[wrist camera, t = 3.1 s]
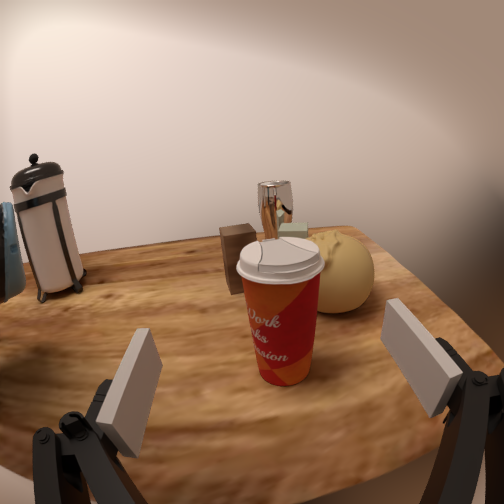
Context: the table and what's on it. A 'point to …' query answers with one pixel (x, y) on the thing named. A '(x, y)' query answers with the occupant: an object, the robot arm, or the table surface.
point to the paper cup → (282, 304)
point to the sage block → (293, 230)
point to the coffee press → (47, 227)
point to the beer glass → (274, 206)
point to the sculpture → (343, 272)
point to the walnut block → (235, 252)
